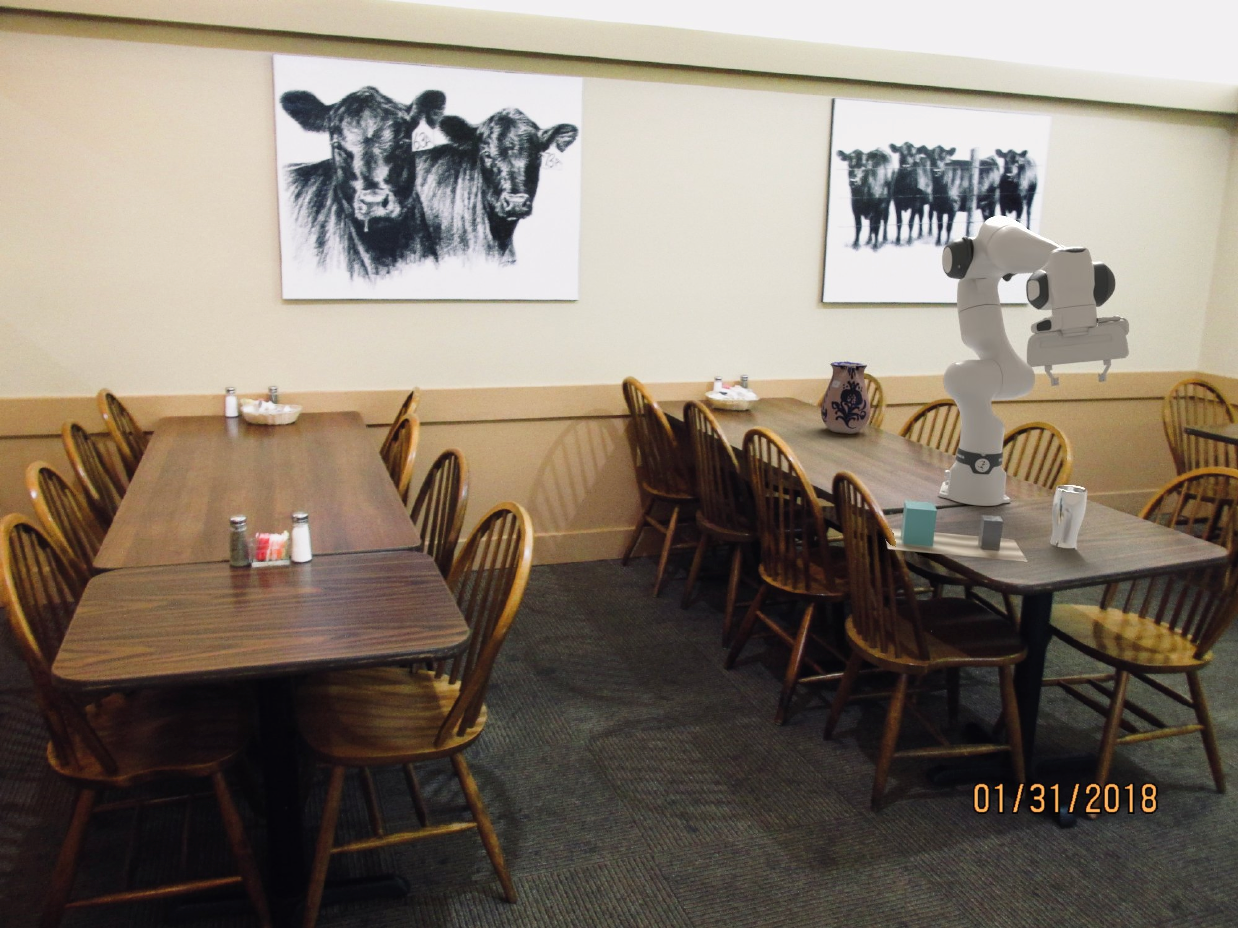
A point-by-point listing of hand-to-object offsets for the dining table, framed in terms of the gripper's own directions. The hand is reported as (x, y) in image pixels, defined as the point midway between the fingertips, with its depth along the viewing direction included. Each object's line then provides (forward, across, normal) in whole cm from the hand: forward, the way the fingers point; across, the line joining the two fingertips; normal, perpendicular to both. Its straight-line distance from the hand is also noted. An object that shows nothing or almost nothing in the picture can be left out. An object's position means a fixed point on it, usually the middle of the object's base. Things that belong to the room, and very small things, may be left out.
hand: (1078, 383), depth 210 cm
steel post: (+36, +21, +3) cm, 41 cm away
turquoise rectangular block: (+33, +36, +8) cm, 49 cm away
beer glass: (+39, +6, -10) cm, 41 cm away
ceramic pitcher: (+13, +87, -112) cm, 143 cm away
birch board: (+36, +28, +6) cm, 46 cm away
